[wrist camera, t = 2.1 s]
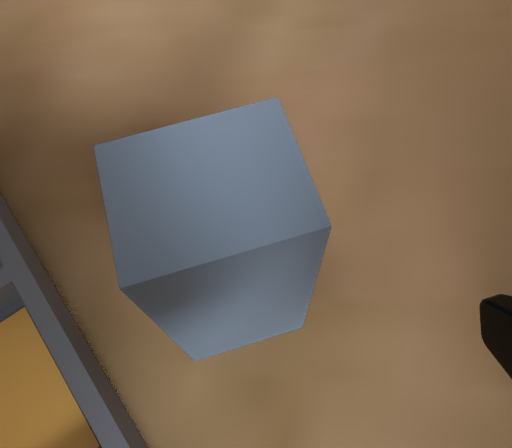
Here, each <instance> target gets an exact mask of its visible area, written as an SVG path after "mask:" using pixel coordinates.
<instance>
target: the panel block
mask: <svg viewBox="0 0 512 448" xmlns="http://www.w3.org/2000/svg"><path fill="white" fill-rule="evenodd" d="M93 146H94V151H95V157H96V162H97V168H98V173H99V179H100V184H101V189H102V195H103V200H104V206H105V211H106V217H107V222H108V228H109V233H110V239H111V244H112V250H113V255H114V261H115V266H116V272H117V277H118V282H119V288H120V289H121V290H122V291H123V292H124V293H125V294H126V295H127V296H128V297H129V298H130V299H131V300H132V301H133V302H134V303H135V304H136V305H137V306H138V307H139V308H140V309H141V310H142V311H143V312H144V313H146V314H147V315H148V316H149V317H150V318H151V319H152V320H153V321H154V322H155V323H156V324H157V325H158V326H159V327H160V328H161V329H162V330H163V331H164V332H165V333H166V334H167V335H168V336H169V337H170V338H171V339H172V340H173V341H175V342H176V343H177V344H178V345H179V346H180V347H181V348H182V349H183V350H184V351H185V352H186V353H187V354H188V355H189V356H190V357H191V358H192V359H193V360H194V361H198V360H201V359H204V358H207V357H210V356H213V355H217V354H220V353H223V352H226V351H229V350H232V349H236V348H239V347H242V346H245V345H248V344H251V343H255V342H258V341H261V340H264V339H267V338H270V337H274V336H277V335H280V334H283V333H286V332H290V331H293V330H296V329H299V328H302V327H303V324H304V320H305V317H306V313H307V310H308V306H309V303H310V299H311V296H312V292H313V289H314V286H315V282H316V279H317V275H318V272H319V268H320V265H321V261H322V258H323V254H324V251H325V247H326V244H327V240H328V237H329V233H330V230H331V227H332V226H331V223H330V221H329V218H328V216H327V214H326V211H325V209H324V206H323V204H322V201H321V199H320V197H319V194H318V192H317V189H316V187H315V185H314V182H313V180H312V177H311V175H310V173H309V170H308V168H307V165H306V163H305V161H304V158H303V156H302V153H301V151H300V148H299V146H298V144H297V141H296V139H295V136H294V134H293V132H292V129H291V127H290V124H289V122H288V120H287V117H286V115H285V112H284V110H283V108H282V105H281V103H280V100H279V98H278V97H275V98H272V99H268V100H264V101H260V102H256V103H253V104H249V105H245V106H241V107H237V108H234V109H230V110H226V111H222V112H218V113H215V114H211V115H207V116H203V117H199V118H196V119H192V120H188V121H184V122H180V123H177V124H173V125H169V126H165V127H161V128H157V129H154V130H150V131H146V132H142V133H138V134H135V135H131V136H127V137H123V138H119V139H116V140H112V141H108V142H104V143H100V144H97V145H93Z"/></svg>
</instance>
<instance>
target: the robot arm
mask: <svg viewBox="0 0 512 448" xmlns="http://www.w3.org/2000/svg"><path fill="white" fill-rule="evenodd" d="M480 323H481V335H482V339H483V341H484V343H485V345H486V347H487V348H488V349H489V351H490V352H491V353H492V354H493V356H494V357H495V358H496V360H497V361H498V362H499V363H500V365H501V366H502V367H503V369H504V370H505V371H506V372H507V374H508V375H509V376H510V378H511V379H512V296H508V295H504V294H498V295H495V296H492V297H489V298H486V299H483V300H482V301H481V303H480Z"/></svg>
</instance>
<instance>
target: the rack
mask: <svg viewBox="0 0 512 448" xmlns="http://www.w3.org/2000/svg"><path fill="white" fill-rule="evenodd" d="M0 448H148V447H147V445H146V444H145V442H144V440H143V438H142V437H141V435H140V433H139V432H138V430H137V428H136V426H135V425H134V423H133V421H132V420H131V418H130V416H129V414H128V413H127V411H126V409H125V407H124V406H123V404H122V402H121V401H120V399H119V397H118V395H117V394H116V392H115V390H114V389H113V387H112V385H111V383H110V382H109V380H108V378H107V376H106V375H105V373H104V371H103V370H102V368H101V366H100V364H99V363H98V361H97V359H96V358H95V356H94V354H93V352H92V351H91V349H90V347H89V345H88V344H87V342H86V340H85V339H84V337H83V335H82V333H81V332H80V330H79V328H78V326H77V325H76V323H75V321H74V320H73V318H72V316H71V314H70V313H69V311H68V309H67V308H66V306H65V304H64V302H63V301H62V299H61V297H60V295H59V294H58V292H57V290H56V289H55V287H54V285H53V283H52V282H51V280H50V278H49V277H48V275H47V273H46V271H45V270H44V268H43V266H42V264H41V263H40V261H39V259H38V258H37V256H36V254H35V252H34V251H33V249H32V247H31V246H30V244H29V242H28V240H27V239H26V237H25V235H24V233H23V232H22V230H21V228H20V227H19V225H18V223H17V221H16V220H15V218H14V216H13V215H12V213H11V211H10V209H9V208H8V206H7V204H6V202H5V201H4V199H3V197H2V196H1V194H0Z"/></svg>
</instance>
